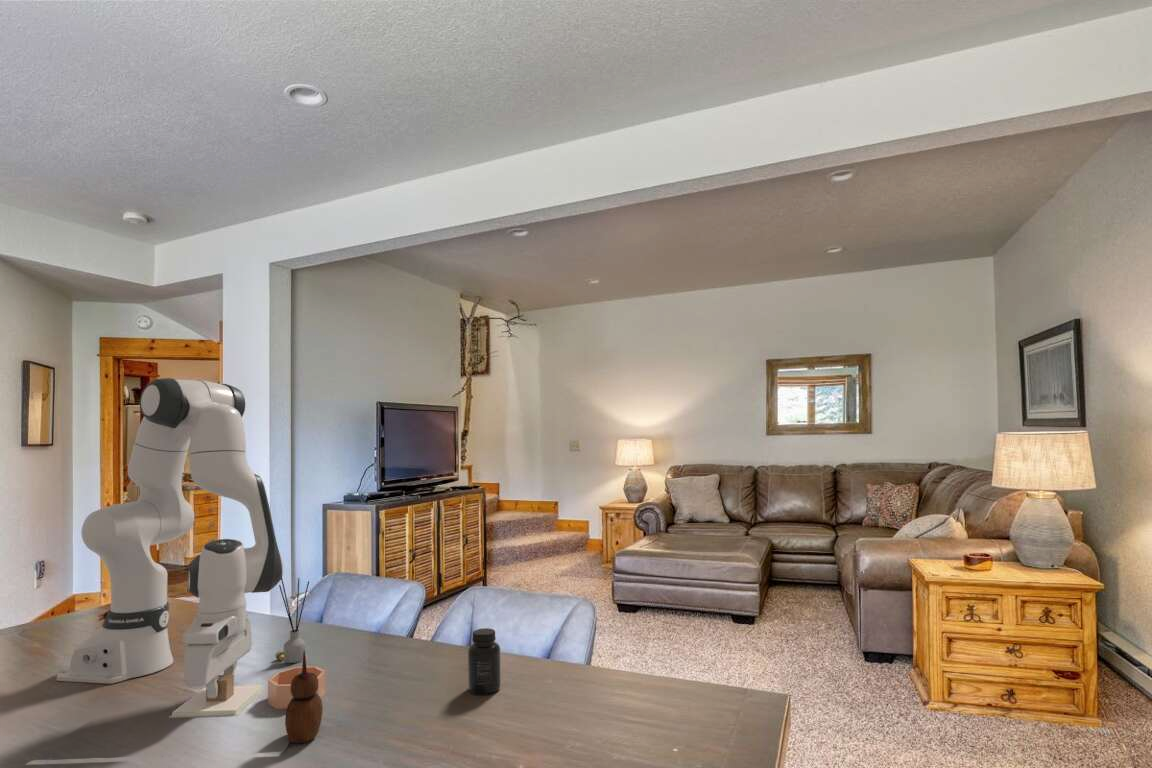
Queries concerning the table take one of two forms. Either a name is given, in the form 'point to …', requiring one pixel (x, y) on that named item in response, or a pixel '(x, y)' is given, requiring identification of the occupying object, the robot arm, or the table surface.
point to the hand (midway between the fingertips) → (220, 691)
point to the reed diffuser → (292, 636)
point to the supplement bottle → (484, 663)
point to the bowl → (282, 685)
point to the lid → (219, 699)
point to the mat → (222, 715)
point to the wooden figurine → (304, 707)
